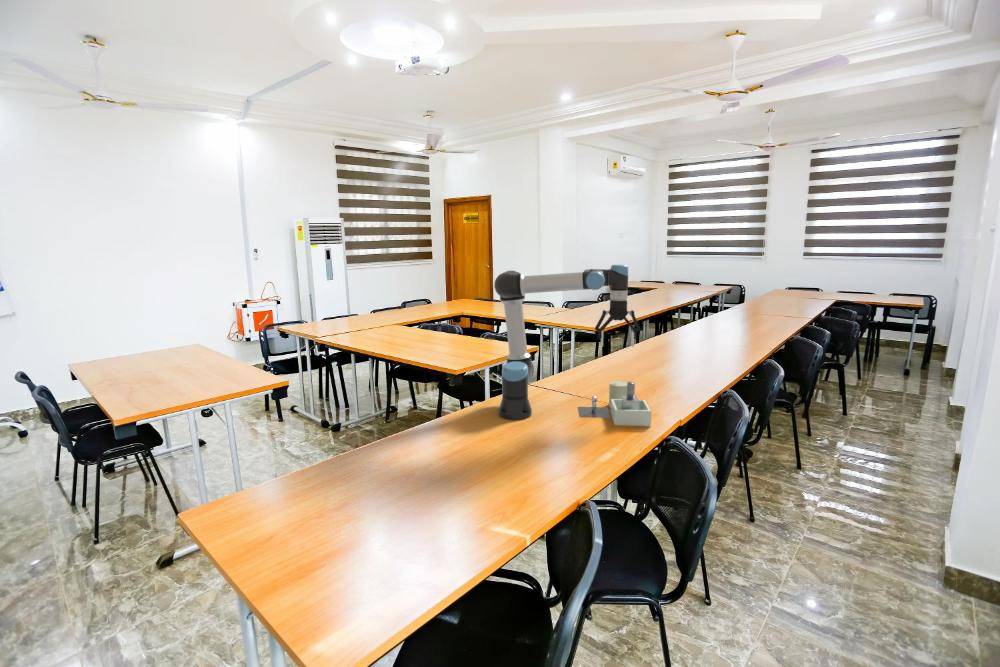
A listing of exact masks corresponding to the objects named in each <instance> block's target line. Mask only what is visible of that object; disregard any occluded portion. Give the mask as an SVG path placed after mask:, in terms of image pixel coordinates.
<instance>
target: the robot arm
mask: <svg viewBox="0 0 1000 667" xmlns="http://www.w3.org/2000/svg"><path fill="white" fill-rule="evenodd" d="M493 286H494V290H495V292H496V294H497V295H498V296H499V300H500V302H501V303H502V304H503V305H504V306H503V307H504V316H505V317H504V318H505V325H506V333H507V345H508V353H509V354H508V355H507V357H506V363H505V364H504V365H503V366H502V369H501V376H502V377H501V382H502V383H501V384H502V385H501V388H502V390H501V391H502V393H501V394H502V398H501V401H500V405H499V408H498V415H499V417H501V418H503V419H506V420H514V421H515V420H523V419H527V418H530V417H531V416H532V413H533V411H532V407H531V403H530V400H529V382H530V381H531V379H532V378H533V376H534V371H535V367H534V364H533V362H532V355H531V353H529V352H528V346H527V338H526V336H527V334H526V329H525V316H524V306H523V302H524V300H525V299H526V294H536V293H551V292H553V293H554V292H568V291H583V290H585V291H587V290H593V291H597V290H598V291H599V290H601V289H602V288H603V287H610V292H609V293H610V294H609V298H610V300H609V309H608V310H605V309H603V310H602V312H601V316H600V317H599V320H598V321H597V324H596V325H595V327H594V330H595V332H598V340H600V346H601V347H604V329H605V328H607V326H608V325H610V323H611V322H612V321H623V320H624V321H625V323H626V324H627V325H628V326H629V327H630V329H631V330H632V331H631V333H630V334H631V337H630V339H631V340H630V346H631V347H632V348H634V346H635V340H637V335H638V332H641V331H642V329H641V326H640V324H639V321H638V320H637V318H636V315H635V311H634V310H633V309H631V310H628V293H629V292H628V289H629V288H628V287H629V266H628V265H626V264H612V265H611V266H610V268H609V269H605V268H604V269H601V268H599V269H597V268H595V269H594V268H588V269H584V271H581V272H577V271H576V272H565V273H552V274H551V273H550V274H549V273H548V274H537V275H536V274H535V275H524V273H520V272H519V271H517V270H506V271H504V272H502V273H500V274H498V275H497V277H496V278H495V279H494V285H493ZM608 314H609V317H608V318H607V320H606V321H604V319H605V317H606V316H608ZM628 315H630V316H631V320H633V323H634V325H635V326H633V324H632V323H631V321H629V319H628V318H627V316H628ZM603 321H604V323H603ZM635 327H636V328H635Z"/></svg>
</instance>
